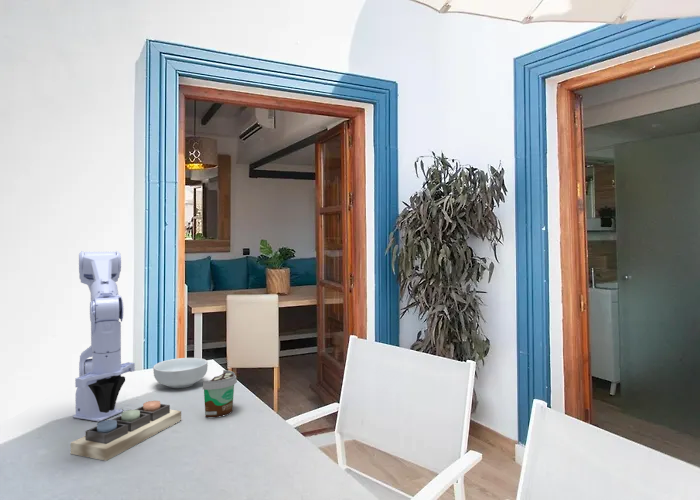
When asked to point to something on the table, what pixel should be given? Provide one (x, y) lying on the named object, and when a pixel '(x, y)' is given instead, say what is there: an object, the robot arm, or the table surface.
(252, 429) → the table surface
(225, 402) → the food container
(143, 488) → the table surface
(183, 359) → the cereal bowl
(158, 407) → the button terracotta
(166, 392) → the table surface
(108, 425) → the button blue
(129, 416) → the button sage
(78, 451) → the button board
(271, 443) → the table surface
